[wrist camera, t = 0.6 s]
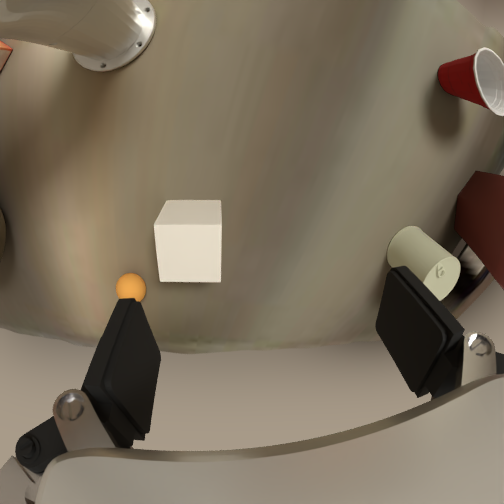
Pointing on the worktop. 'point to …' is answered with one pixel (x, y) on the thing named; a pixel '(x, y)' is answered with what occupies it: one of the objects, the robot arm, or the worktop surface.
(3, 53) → the cracker box
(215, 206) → the white sugar cube
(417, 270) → the can
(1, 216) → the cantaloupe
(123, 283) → the ball
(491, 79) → the plastic cup
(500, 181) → the bucket
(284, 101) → the worktop surface
